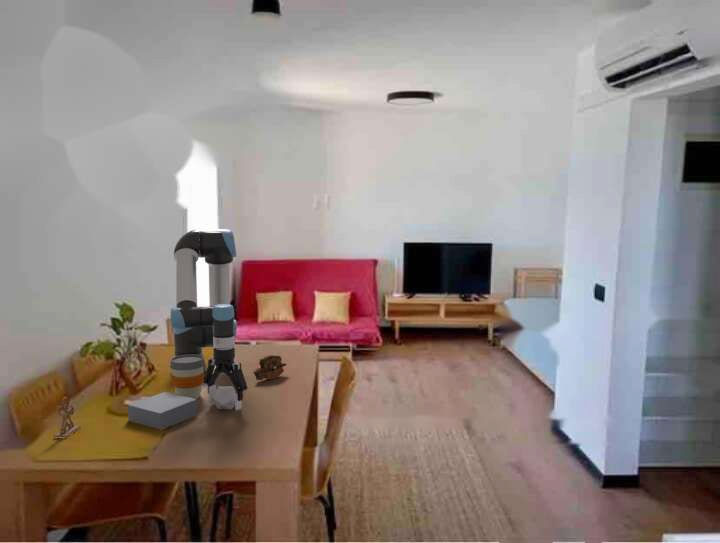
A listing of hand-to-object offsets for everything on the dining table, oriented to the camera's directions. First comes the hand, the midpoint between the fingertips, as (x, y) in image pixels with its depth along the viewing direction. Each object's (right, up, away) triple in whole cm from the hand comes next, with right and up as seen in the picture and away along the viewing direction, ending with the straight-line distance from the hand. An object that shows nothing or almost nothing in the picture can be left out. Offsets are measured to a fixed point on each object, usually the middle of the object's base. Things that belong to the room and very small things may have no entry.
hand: (225, 405), depth 208 cm
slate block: (-19, -2, -9) cm, 22 cm away
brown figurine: (-46, -4, -23) cm, 51 cm away
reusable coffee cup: (-17, +1, +12) cm, 21 cm away
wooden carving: (+11, +3, +35) cm, 37 cm away
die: (0, -1, 0) cm, 1 cm away
